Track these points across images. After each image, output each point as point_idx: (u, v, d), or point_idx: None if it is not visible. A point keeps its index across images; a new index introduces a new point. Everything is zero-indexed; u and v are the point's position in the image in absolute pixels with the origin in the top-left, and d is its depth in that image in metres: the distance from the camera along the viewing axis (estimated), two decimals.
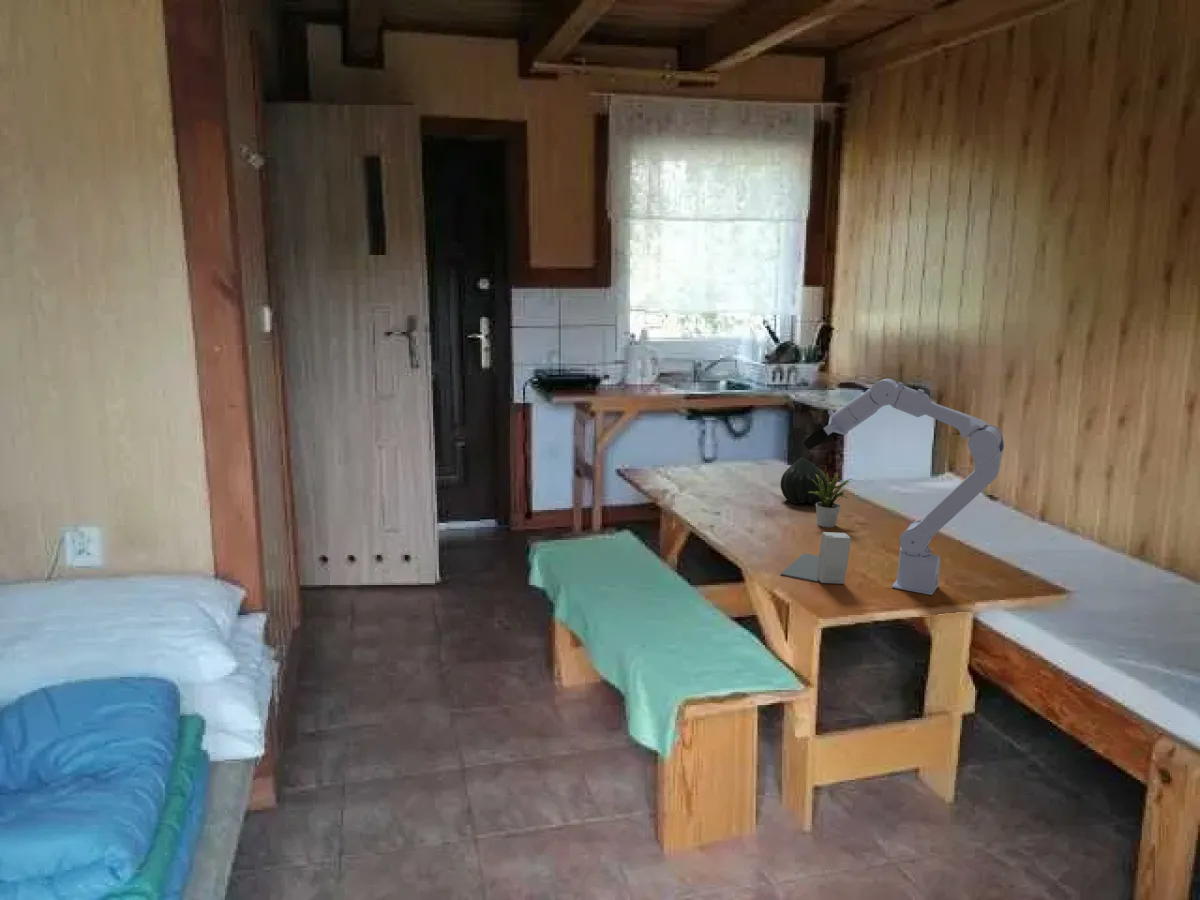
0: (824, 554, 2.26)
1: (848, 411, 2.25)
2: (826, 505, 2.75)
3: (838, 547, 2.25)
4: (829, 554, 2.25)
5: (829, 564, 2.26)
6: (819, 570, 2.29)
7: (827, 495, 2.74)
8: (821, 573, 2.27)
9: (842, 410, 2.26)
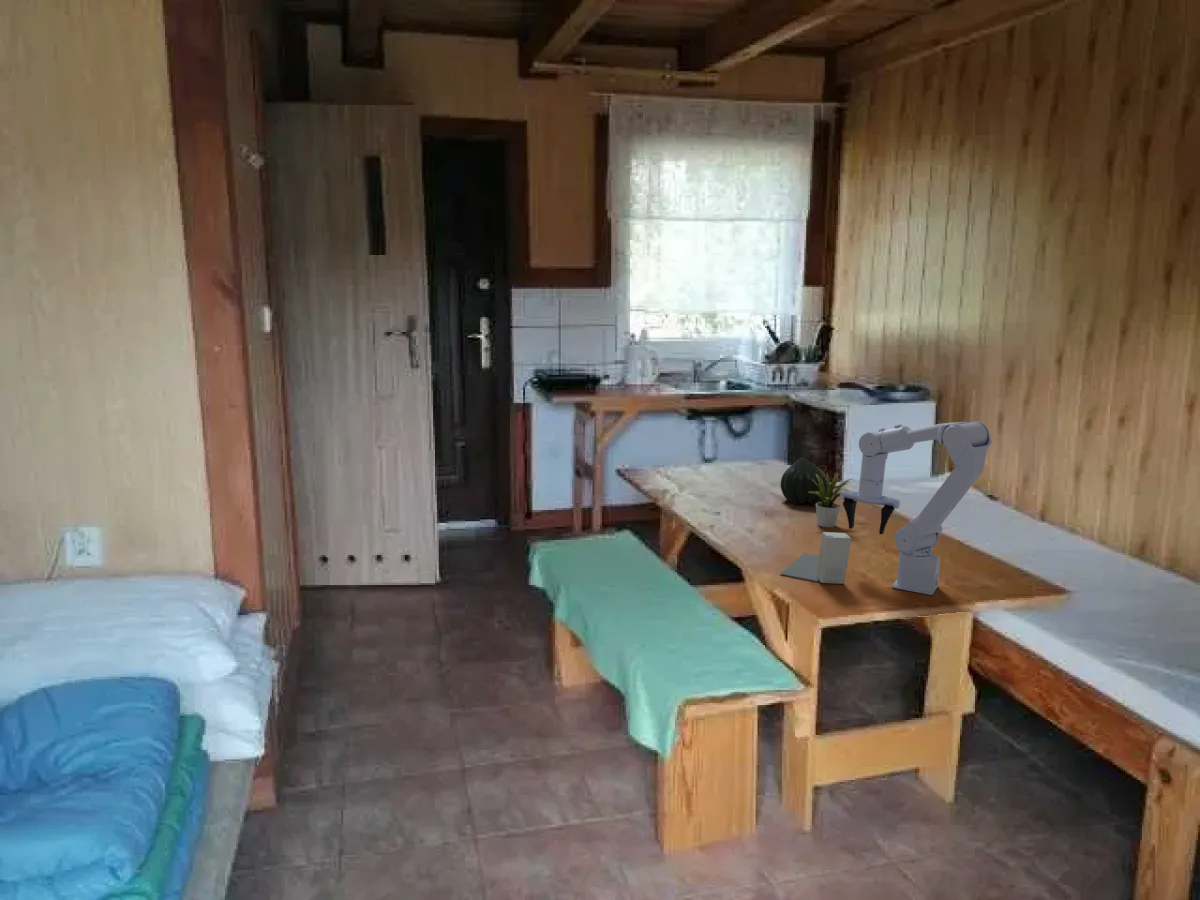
0: (824, 554, 2.26)
1: None
2: (826, 505, 2.75)
3: (838, 547, 2.25)
4: (829, 554, 2.25)
5: (829, 564, 2.26)
6: (819, 570, 2.29)
7: (827, 495, 2.74)
8: (821, 573, 2.27)
9: None
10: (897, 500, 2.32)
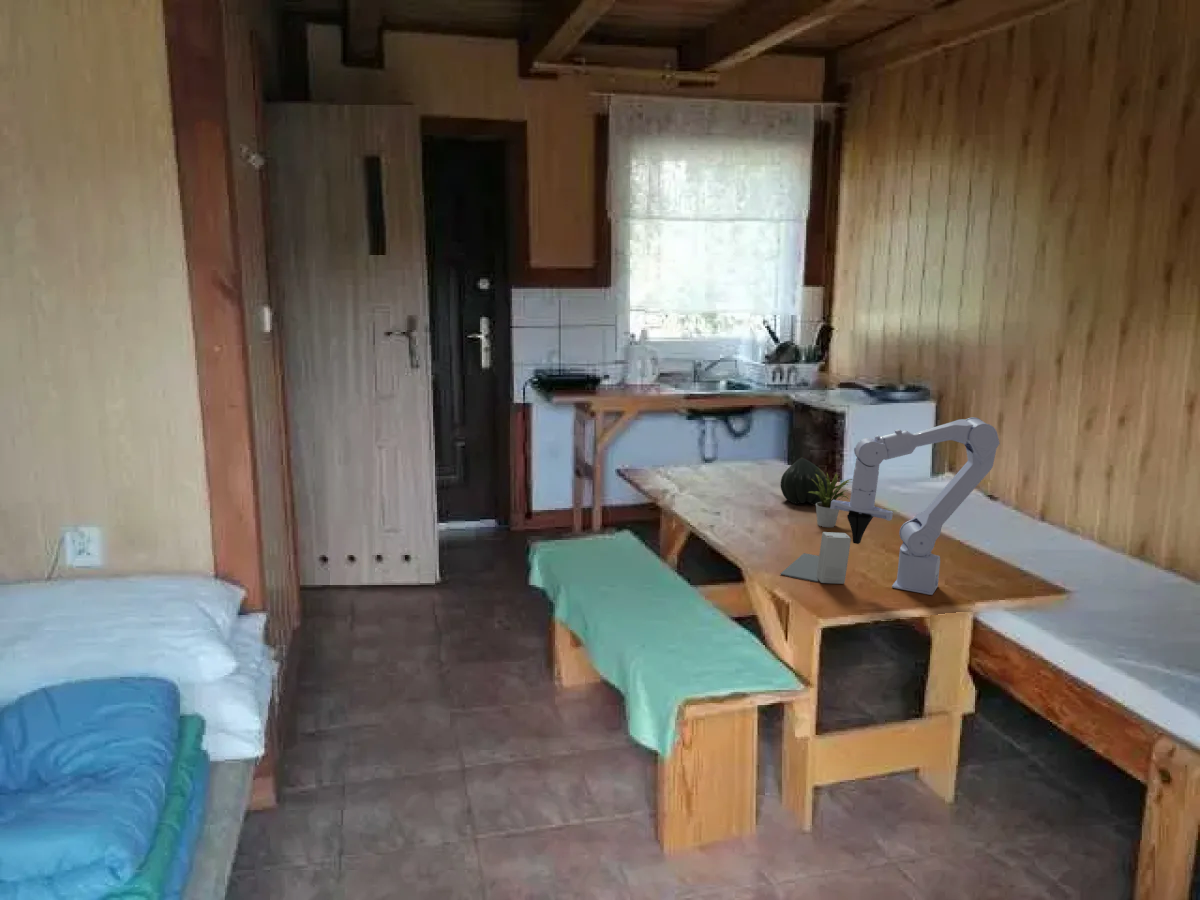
0: (824, 554, 2.26)
1: None
2: (826, 505, 2.75)
3: (838, 547, 2.25)
4: (829, 554, 2.25)
5: (829, 564, 2.26)
6: (819, 570, 2.29)
7: (827, 495, 2.74)
8: (821, 573, 2.27)
9: None
10: (890, 512, 2.21)
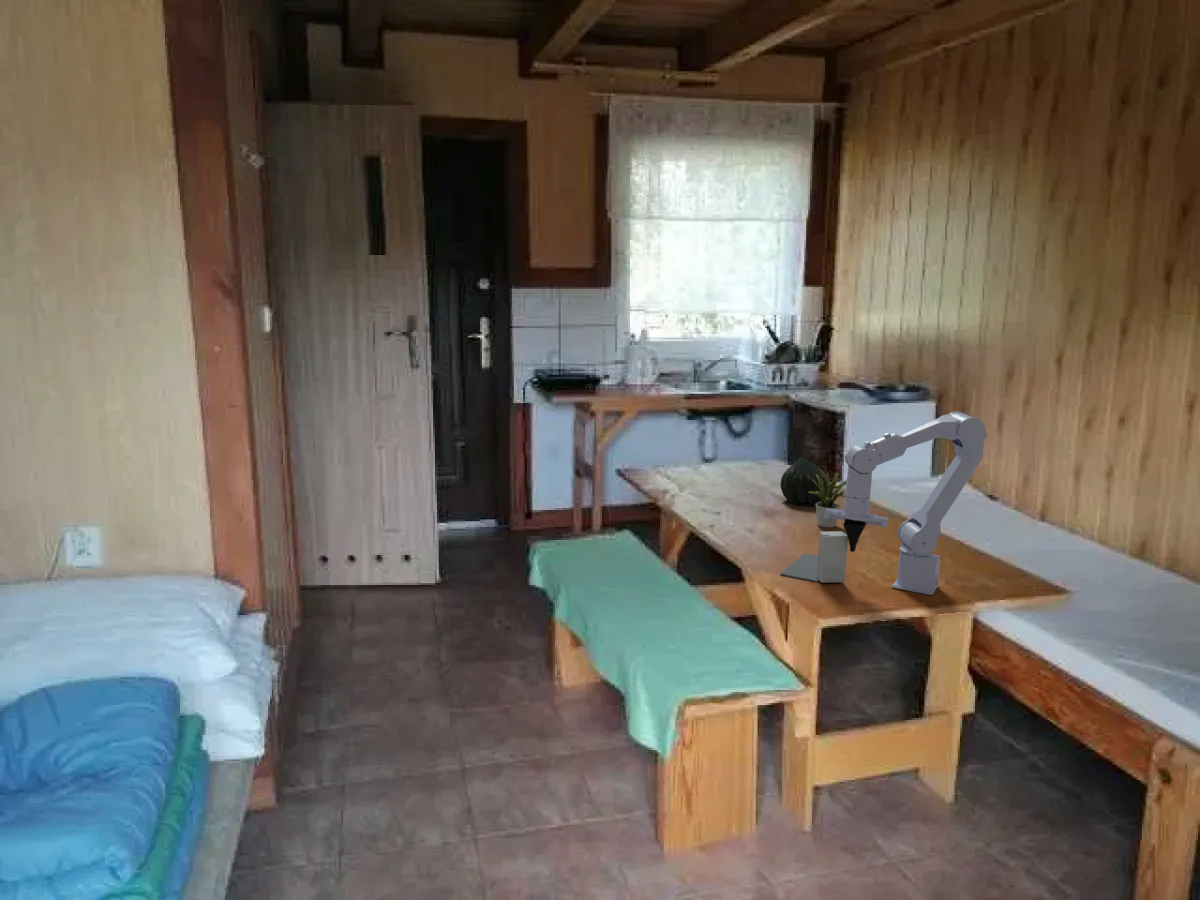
0: (822, 554, 2.26)
1: None
2: (826, 505, 2.75)
3: (836, 546, 2.25)
4: (827, 553, 2.25)
5: (828, 563, 2.26)
6: (818, 570, 2.29)
7: (827, 495, 2.74)
8: (821, 572, 2.27)
9: None
10: (885, 518, 2.20)
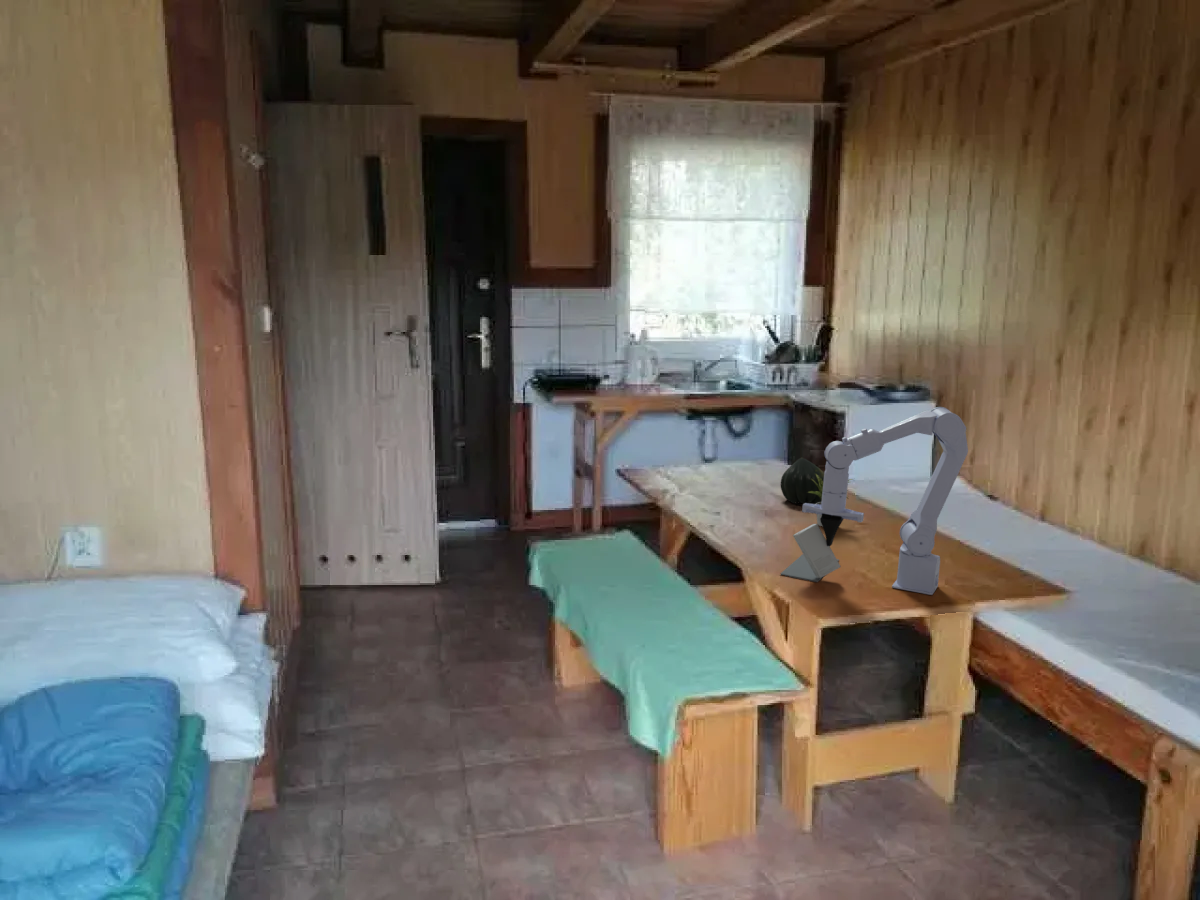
0: (805, 552, 2.28)
1: None
2: None
3: (812, 538, 2.27)
4: (808, 548, 2.27)
5: (815, 557, 2.27)
6: (812, 569, 2.30)
7: None
8: (814, 569, 2.27)
9: None
10: (861, 513, 2.22)
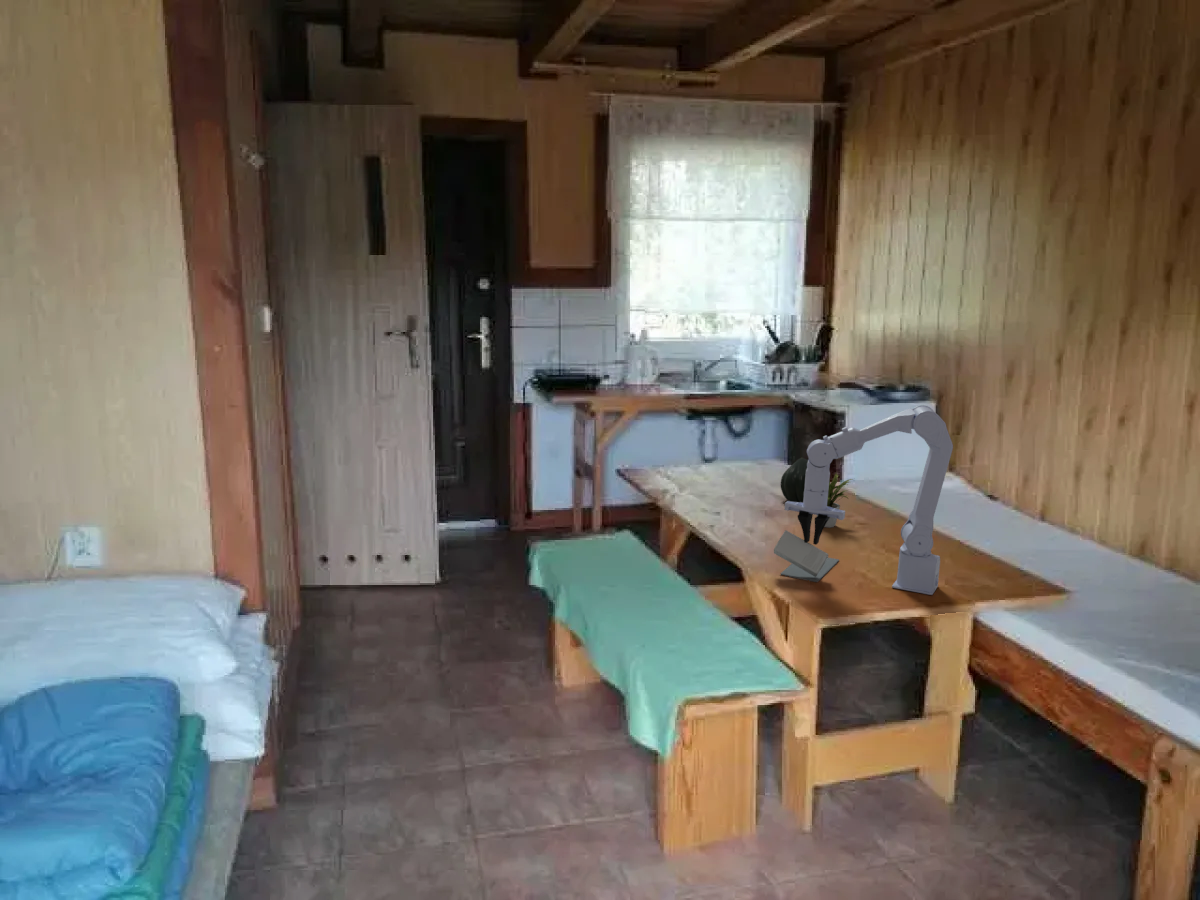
0: (790, 559, 2.30)
1: None
2: None
3: (788, 544, 2.31)
4: (790, 554, 2.30)
5: (801, 559, 2.29)
6: (807, 571, 2.30)
7: None
8: (807, 569, 2.28)
9: None
10: (842, 511, 2.24)
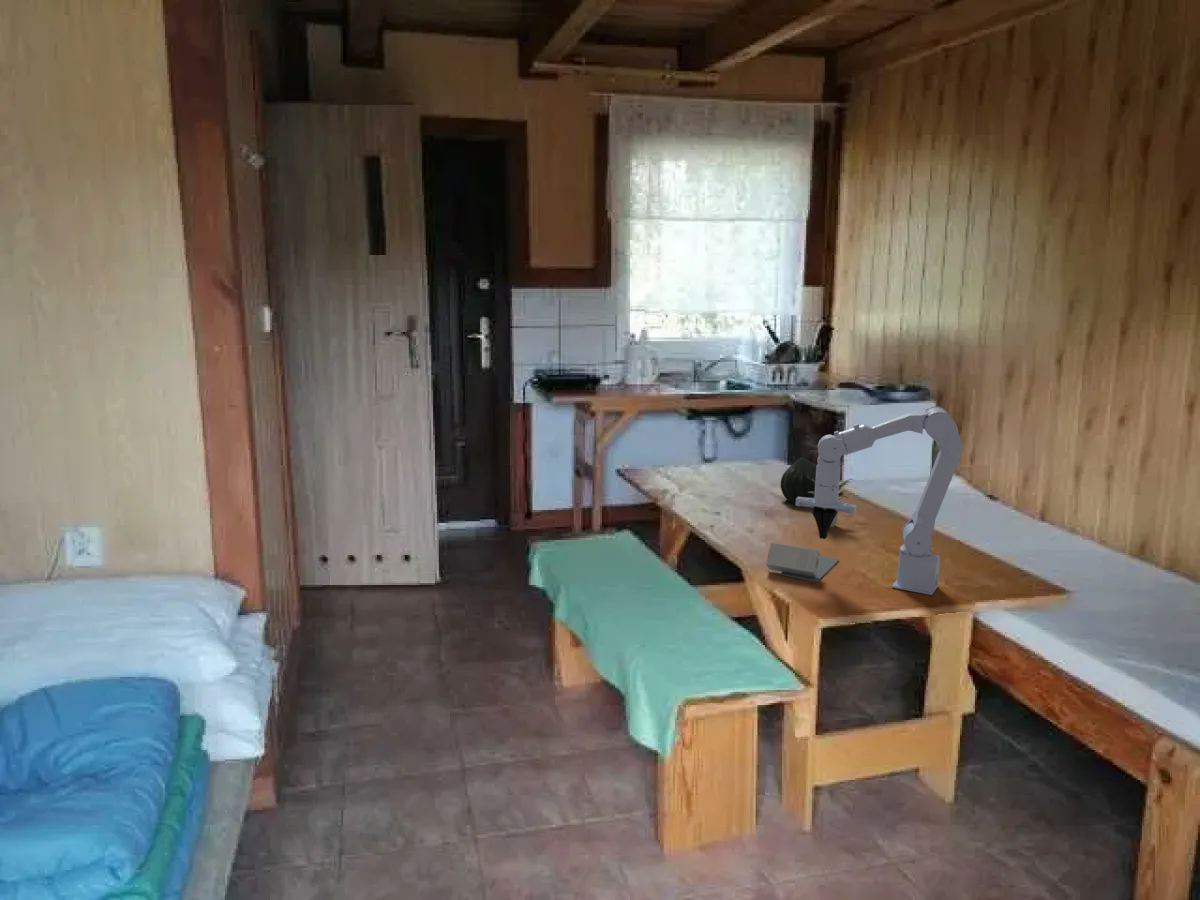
0: (785, 568, 2.31)
1: None
2: None
3: (778, 554, 2.33)
4: (783, 563, 2.31)
5: (794, 563, 2.30)
6: (805, 574, 2.31)
7: None
8: (803, 571, 2.29)
9: None
10: (853, 506, 2.25)
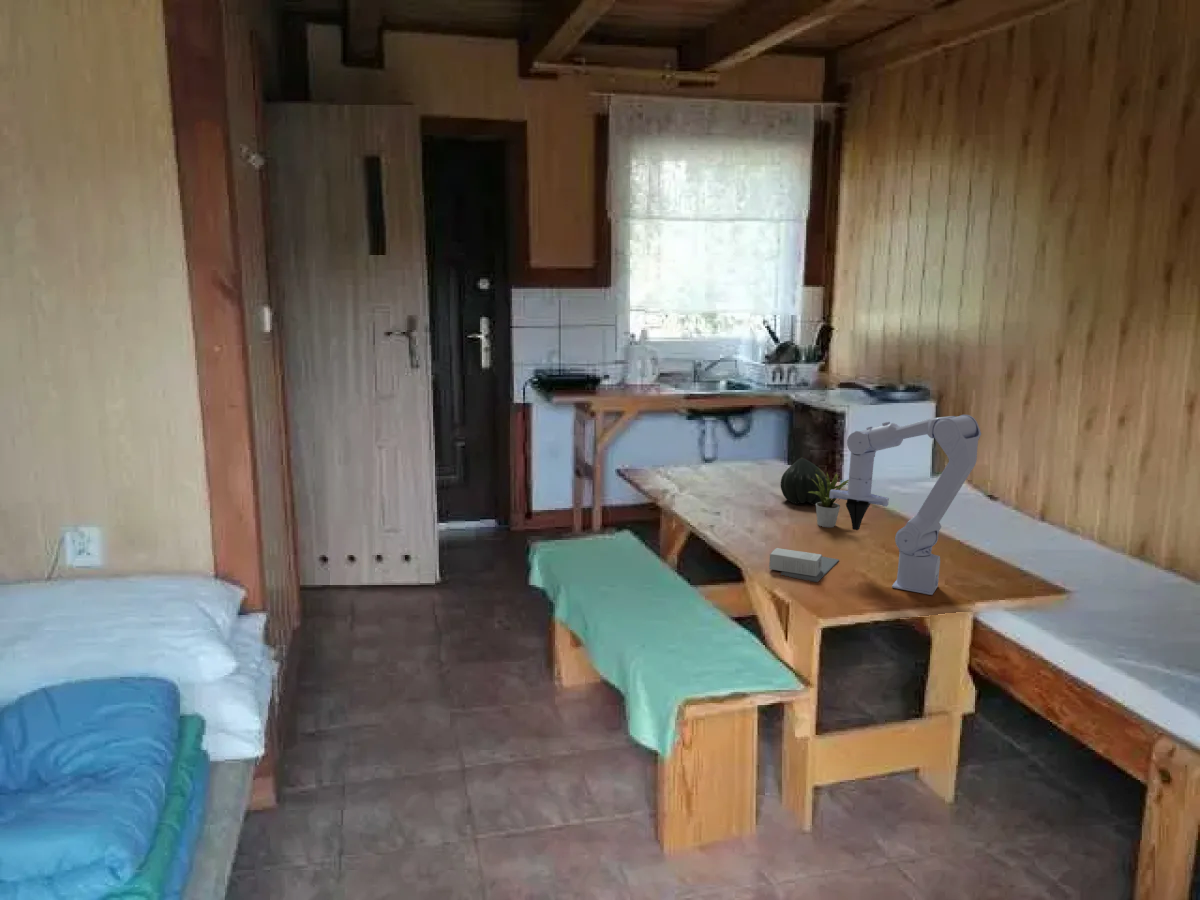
0: (788, 559, 2.33)
1: None
2: (826, 505, 2.75)
3: (782, 552, 2.37)
4: (787, 555, 2.34)
5: (798, 556, 2.33)
6: (807, 570, 2.32)
7: (827, 495, 2.74)
8: (806, 561, 2.31)
9: None
10: (886, 498, 2.33)
